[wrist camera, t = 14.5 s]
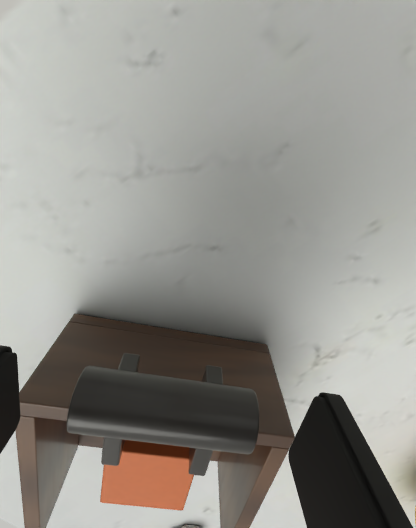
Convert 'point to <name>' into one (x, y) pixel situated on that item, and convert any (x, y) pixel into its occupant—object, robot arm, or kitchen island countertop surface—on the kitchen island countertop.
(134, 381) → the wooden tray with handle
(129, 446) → the block
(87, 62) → the kitchen island countertop surface
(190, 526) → the lighter
